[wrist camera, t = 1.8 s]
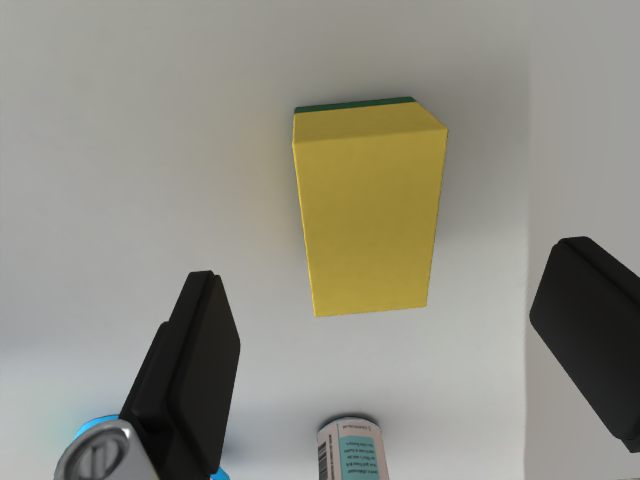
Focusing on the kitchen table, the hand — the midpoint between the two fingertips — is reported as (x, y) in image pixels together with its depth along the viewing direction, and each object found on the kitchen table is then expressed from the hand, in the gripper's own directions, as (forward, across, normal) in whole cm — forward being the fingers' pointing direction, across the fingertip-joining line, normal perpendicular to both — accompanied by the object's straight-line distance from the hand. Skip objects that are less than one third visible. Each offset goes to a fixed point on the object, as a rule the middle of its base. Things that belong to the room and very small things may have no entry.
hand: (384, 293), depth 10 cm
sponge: (+6, 0, 0) cm, 6 cm away
